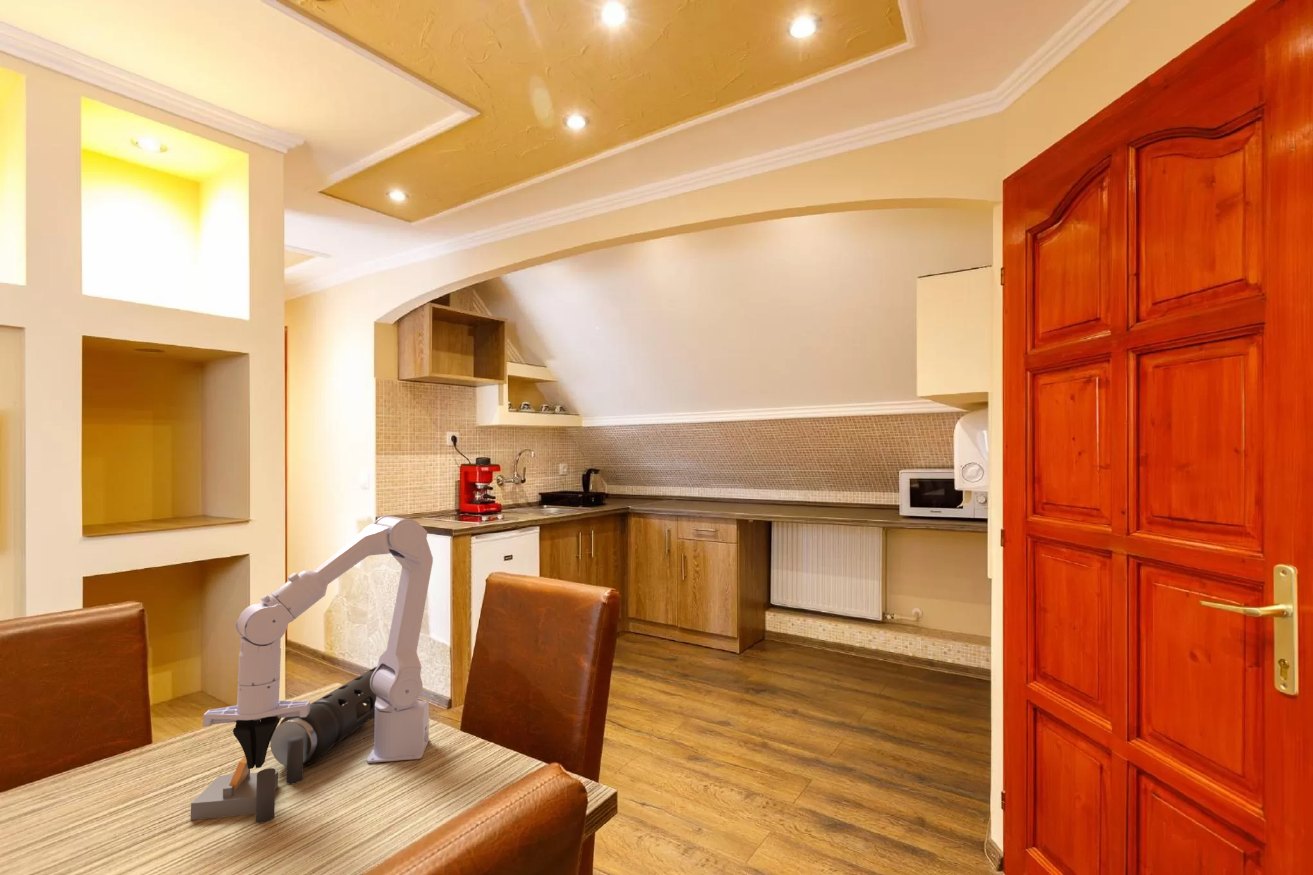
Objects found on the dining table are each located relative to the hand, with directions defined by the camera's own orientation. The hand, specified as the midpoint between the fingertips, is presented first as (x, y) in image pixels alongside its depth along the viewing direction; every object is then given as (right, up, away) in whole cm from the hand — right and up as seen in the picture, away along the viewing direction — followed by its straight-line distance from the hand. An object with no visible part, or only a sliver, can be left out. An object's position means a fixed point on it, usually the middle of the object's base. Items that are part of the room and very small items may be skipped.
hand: (255, 765), depth 97 cm
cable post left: (+4, -6, -5) cm, 8 cm away
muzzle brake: (-4, -3, +24) cm, 24 cm away
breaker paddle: (-3, -3, 0) cm, 4 cm away
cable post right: (+2, -6, +6) cm, 9 cm away
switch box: (-3, -6, 0) cm, 6 cm away
